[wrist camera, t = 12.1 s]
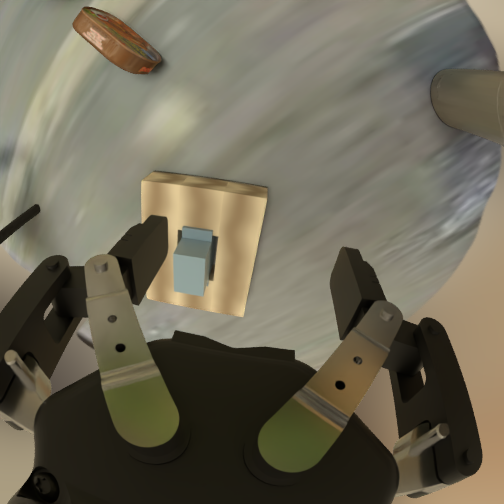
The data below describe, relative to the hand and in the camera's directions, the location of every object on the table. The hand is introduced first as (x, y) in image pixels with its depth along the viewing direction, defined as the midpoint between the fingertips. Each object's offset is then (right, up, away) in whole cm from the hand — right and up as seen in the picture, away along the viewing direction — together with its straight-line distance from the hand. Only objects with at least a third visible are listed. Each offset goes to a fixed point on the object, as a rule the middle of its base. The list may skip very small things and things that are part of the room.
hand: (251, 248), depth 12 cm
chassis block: (-7, +2, +29) cm, 30 cm away
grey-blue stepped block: (-7, +1, +28) cm, 29 cm away
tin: (-16, +28, +13) cm, 35 cm away
